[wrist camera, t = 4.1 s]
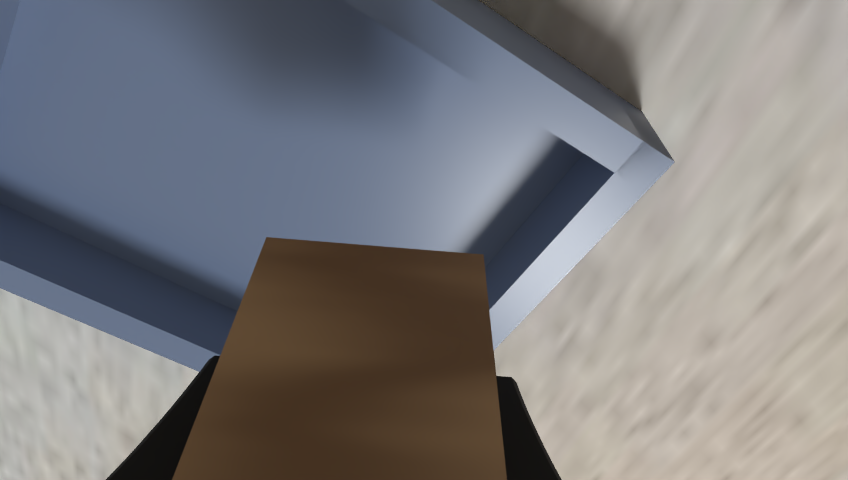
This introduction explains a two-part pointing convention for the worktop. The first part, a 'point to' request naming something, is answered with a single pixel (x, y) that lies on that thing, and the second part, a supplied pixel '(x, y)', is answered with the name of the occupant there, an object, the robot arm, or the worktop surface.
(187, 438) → the robot arm
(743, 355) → the worktop surface
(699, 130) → the worktop surface
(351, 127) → the slate blue tray
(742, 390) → the worktop surface
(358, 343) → the walnut block
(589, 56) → the worktop surface
